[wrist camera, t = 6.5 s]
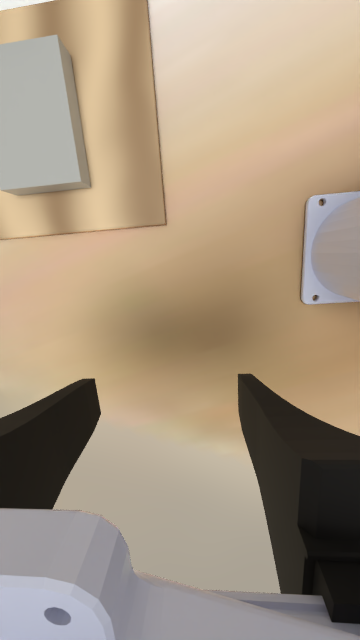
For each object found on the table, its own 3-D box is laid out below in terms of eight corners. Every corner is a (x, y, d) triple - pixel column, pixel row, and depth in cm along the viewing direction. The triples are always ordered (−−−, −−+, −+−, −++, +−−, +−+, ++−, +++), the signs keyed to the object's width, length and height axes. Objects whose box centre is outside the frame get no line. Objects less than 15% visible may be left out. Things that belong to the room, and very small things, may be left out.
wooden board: (146, -7, 16) (144, -17, 15) (166, 224, 19) (165, 223, 19) (-63, 32, 17) (-72, 24, 16) (-8, 240, 21) (-14, 240, 20)
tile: (57, 34, 15) (-34, 50, 15) (80, 181, 17) (0, 190, 17) (71, 57, 16) (-10, 70, 17) (91, 188, 18) (18, 196, 19)
